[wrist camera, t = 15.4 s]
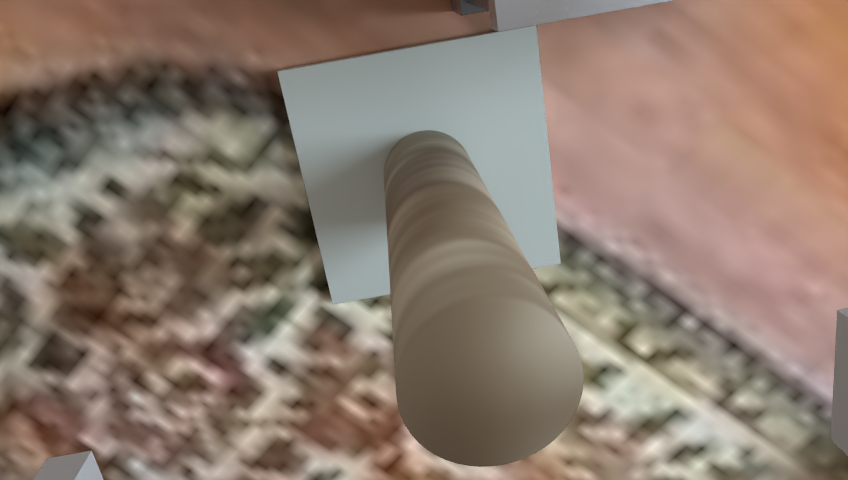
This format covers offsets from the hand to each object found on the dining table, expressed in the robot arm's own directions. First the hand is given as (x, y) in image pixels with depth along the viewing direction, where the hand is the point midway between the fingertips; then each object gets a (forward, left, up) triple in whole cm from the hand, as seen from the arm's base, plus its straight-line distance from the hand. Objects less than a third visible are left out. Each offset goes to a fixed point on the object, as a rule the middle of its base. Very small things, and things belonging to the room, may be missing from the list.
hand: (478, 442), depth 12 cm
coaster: (0, 0, -18) cm, 18 cm away
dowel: (0, 0, -17) cm, 17 cm away
